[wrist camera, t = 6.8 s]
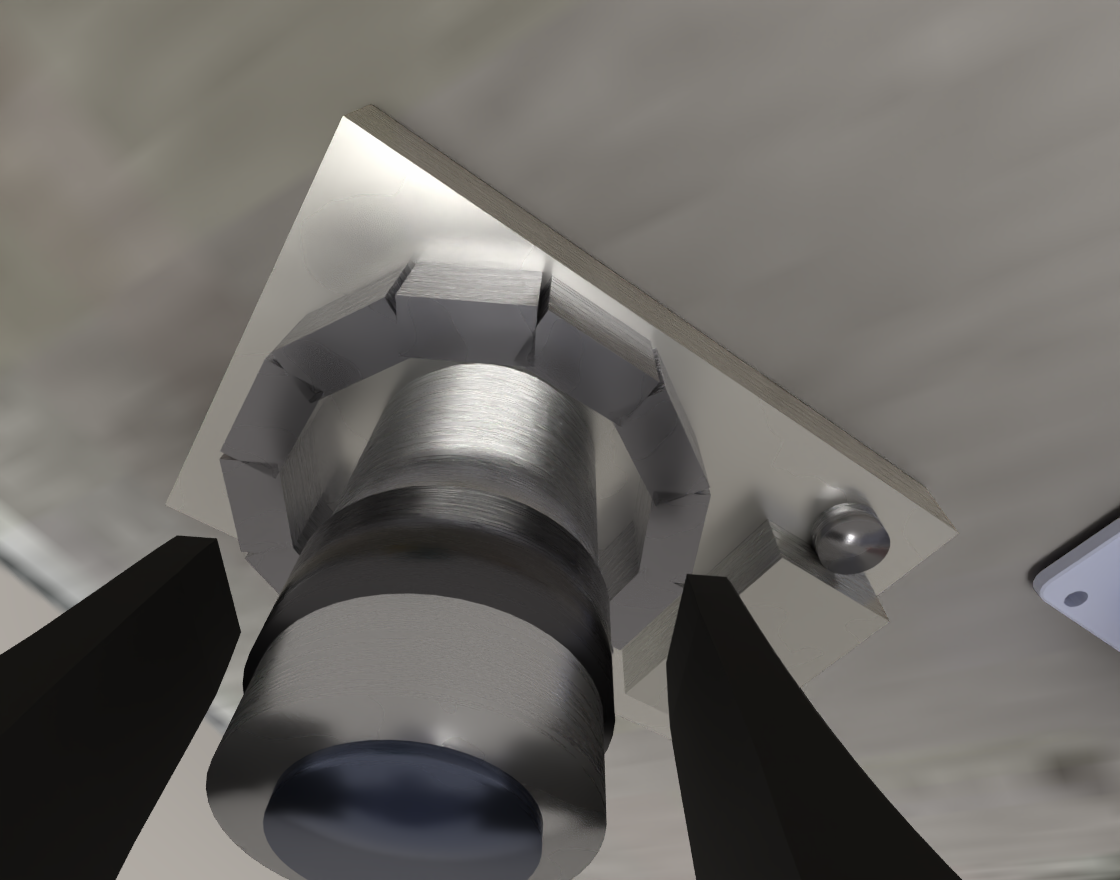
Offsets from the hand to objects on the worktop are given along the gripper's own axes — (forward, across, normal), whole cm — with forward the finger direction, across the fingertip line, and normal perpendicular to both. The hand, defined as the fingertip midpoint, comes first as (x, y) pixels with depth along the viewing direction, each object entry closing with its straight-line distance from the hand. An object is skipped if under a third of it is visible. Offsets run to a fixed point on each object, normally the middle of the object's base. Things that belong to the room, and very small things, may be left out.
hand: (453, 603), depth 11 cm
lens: (+3, 0, 0) cm, 4 cm away
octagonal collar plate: (+5, -2, +1) cm, 5 cm away
